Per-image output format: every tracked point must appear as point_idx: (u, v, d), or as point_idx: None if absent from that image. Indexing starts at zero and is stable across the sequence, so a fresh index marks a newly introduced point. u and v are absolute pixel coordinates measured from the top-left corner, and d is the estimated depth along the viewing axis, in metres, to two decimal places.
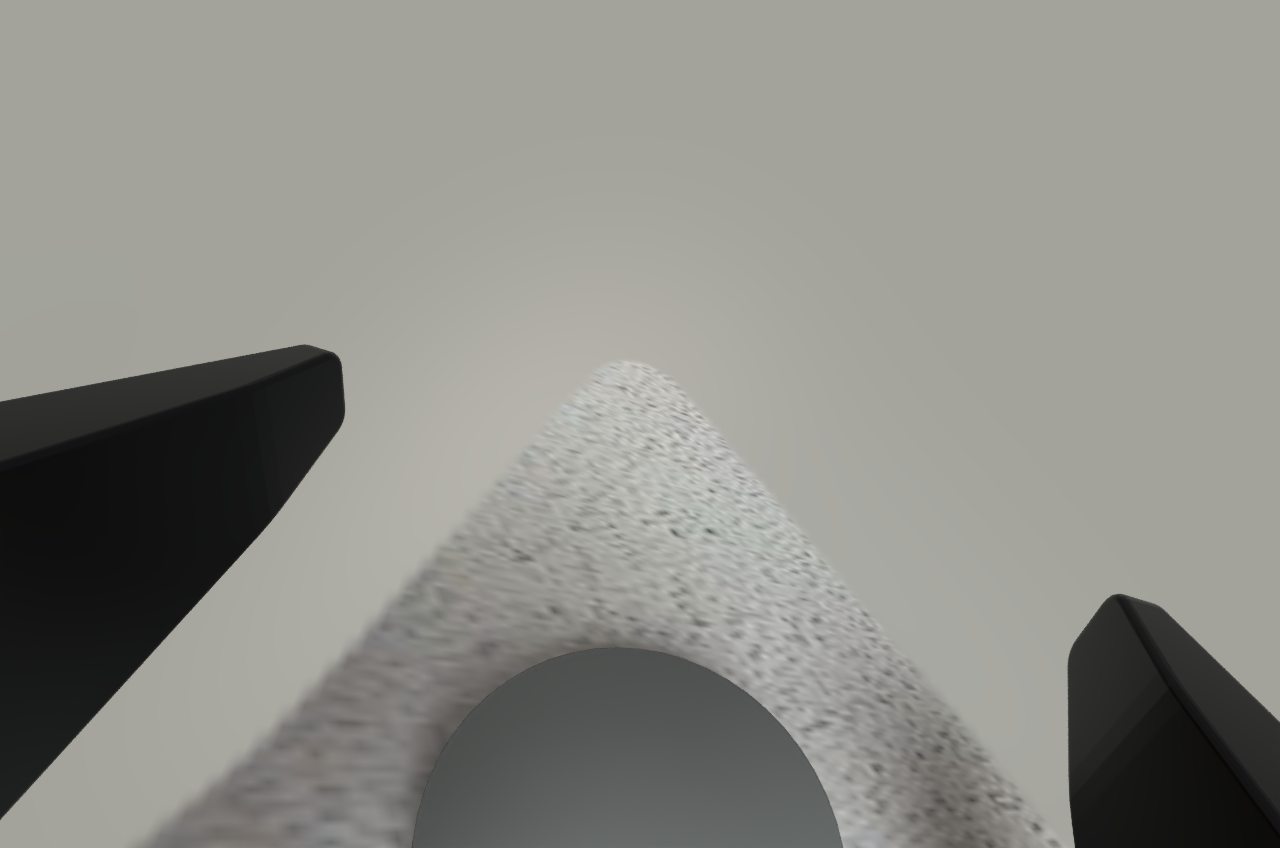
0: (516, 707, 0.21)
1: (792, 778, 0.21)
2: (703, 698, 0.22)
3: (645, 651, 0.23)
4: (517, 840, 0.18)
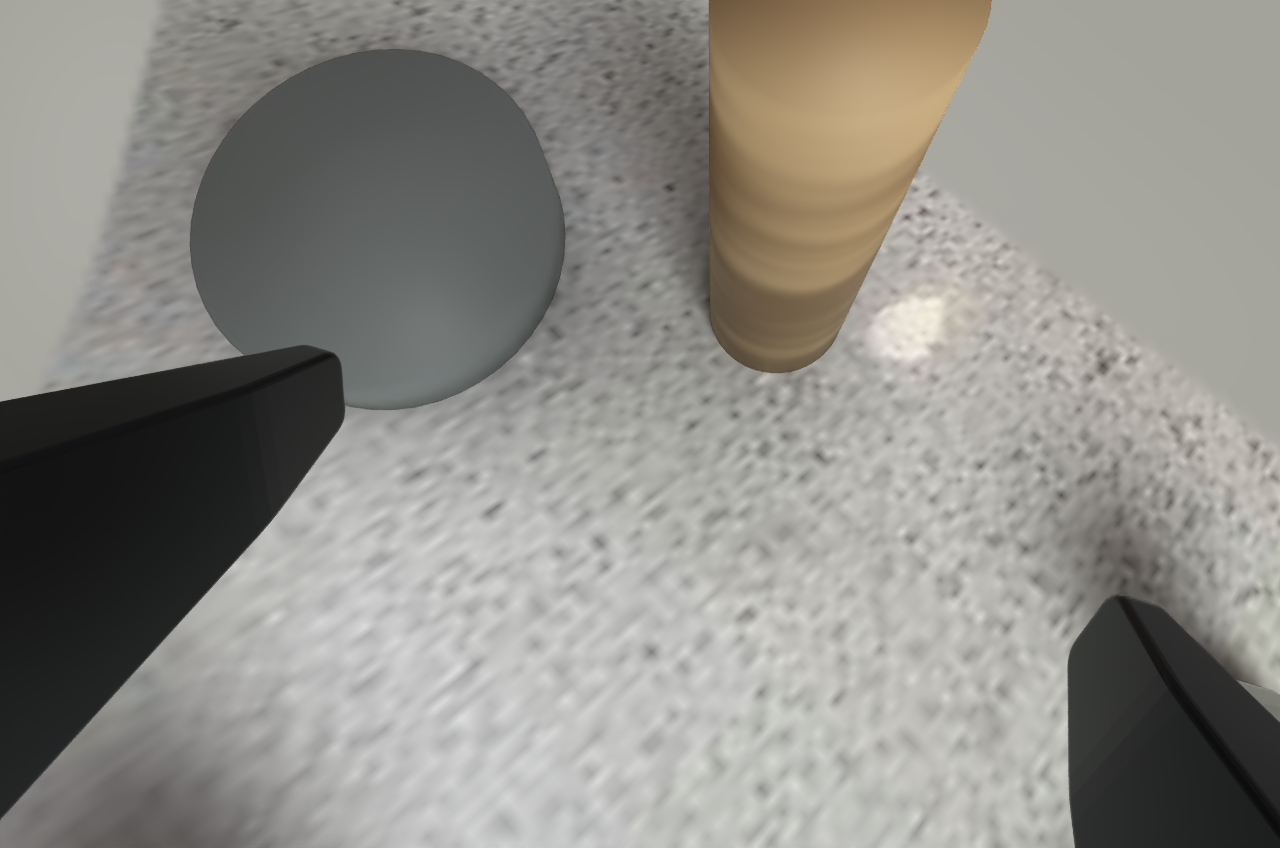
0: (238, 158, 0.23)
1: (492, 112, 0.23)
2: (400, 78, 0.23)
3: (337, 59, 0.23)
4: (274, 253, 0.22)
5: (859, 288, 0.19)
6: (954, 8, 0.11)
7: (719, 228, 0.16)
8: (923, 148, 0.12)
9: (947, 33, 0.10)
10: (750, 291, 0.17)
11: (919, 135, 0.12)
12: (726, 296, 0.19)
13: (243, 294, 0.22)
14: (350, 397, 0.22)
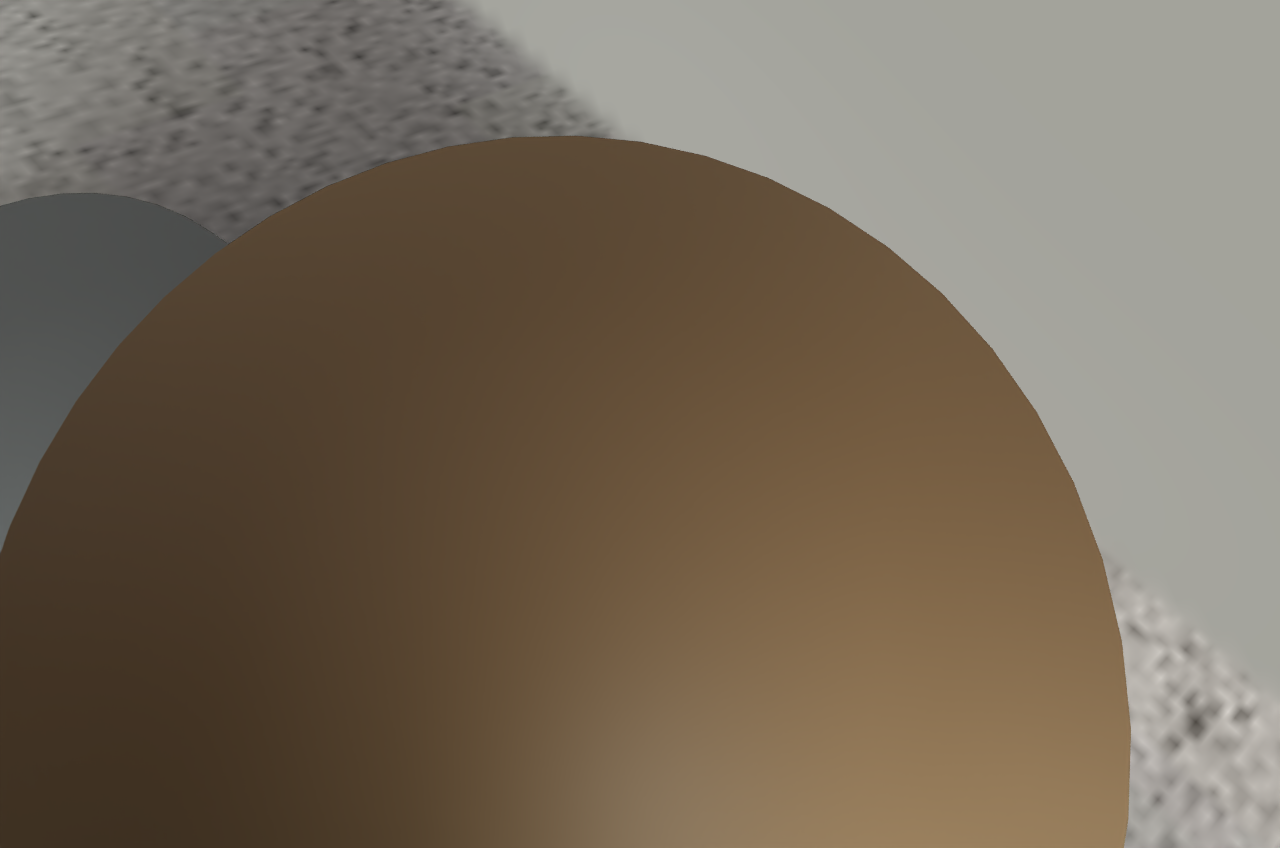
0: None
1: None
2: (94, 241, 0.15)
3: (4, 207, 0.15)
4: None
5: None
6: (959, 795, 0.02)
7: None
8: None
9: None
10: None
11: None
12: None
13: None
14: None
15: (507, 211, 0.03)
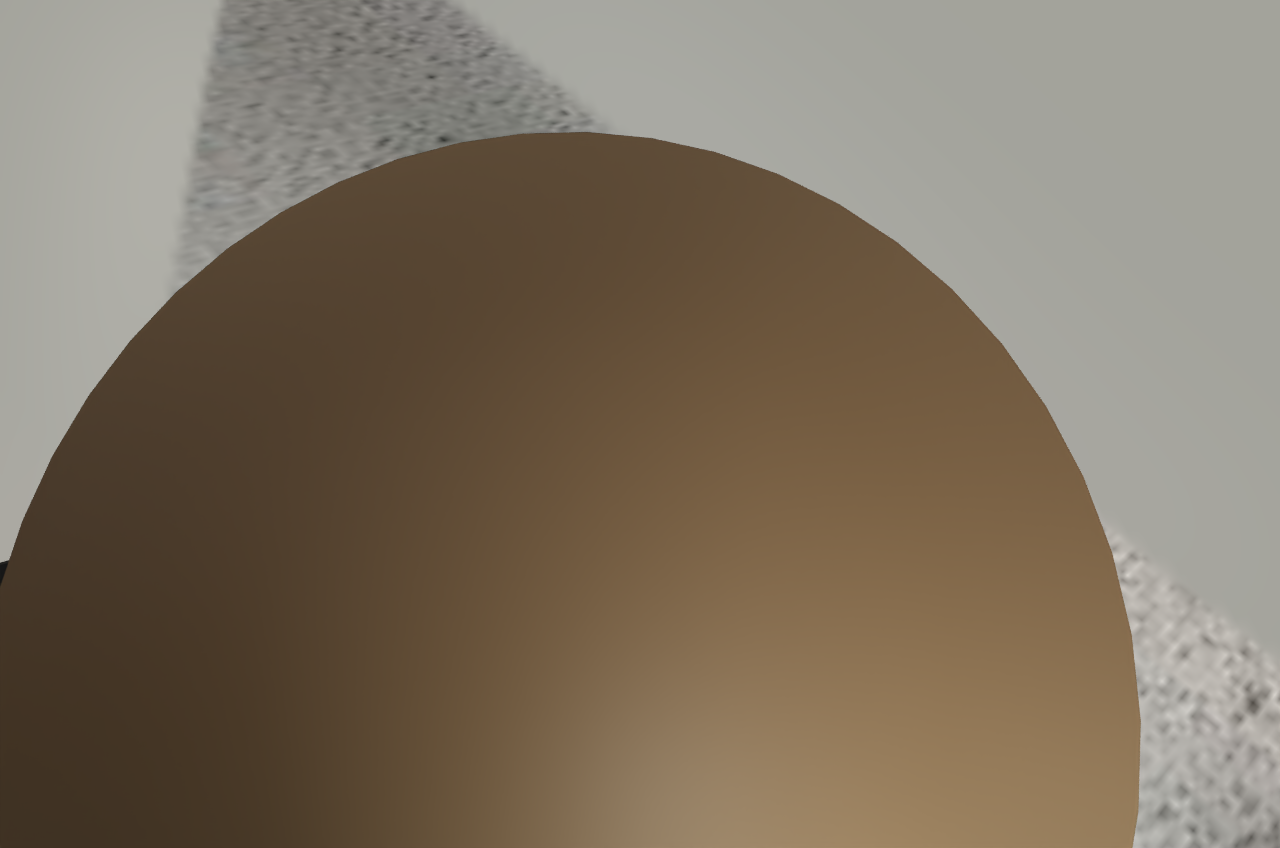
0: None
1: None
2: None
3: None
4: None
5: None
6: (970, 786, 0.02)
7: None
8: None
9: None
10: None
11: None
12: None
13: None
14: None
15: (518, 207, 0.03)
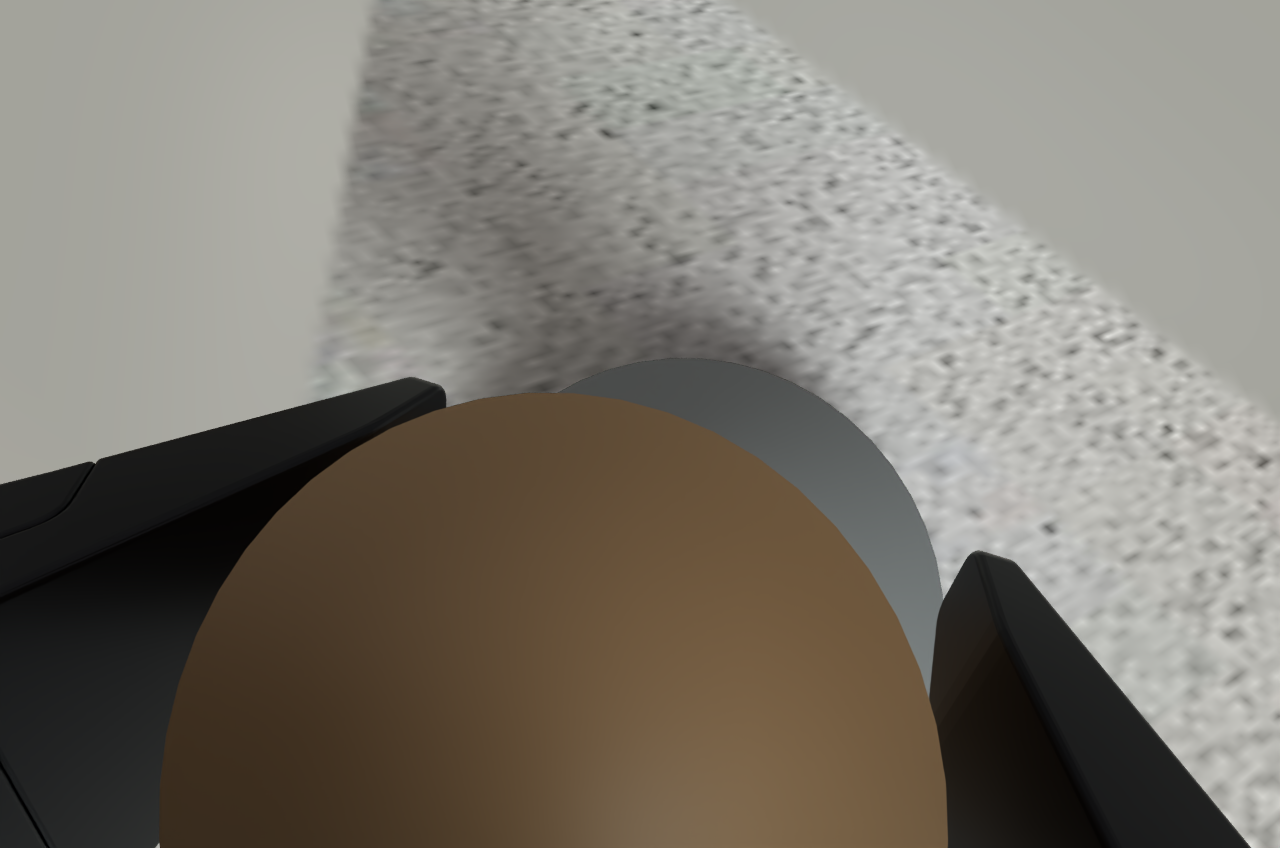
0: None
1: (845, 461, 0.16)
2: (709, 403, 0.17)
3: (617, 370, 0.17)
4: None
5: None
6: None
7: None
8: None
9: None
10: None
11: None
12: None
13: None
14: None
15: (524, 453, 0.04)
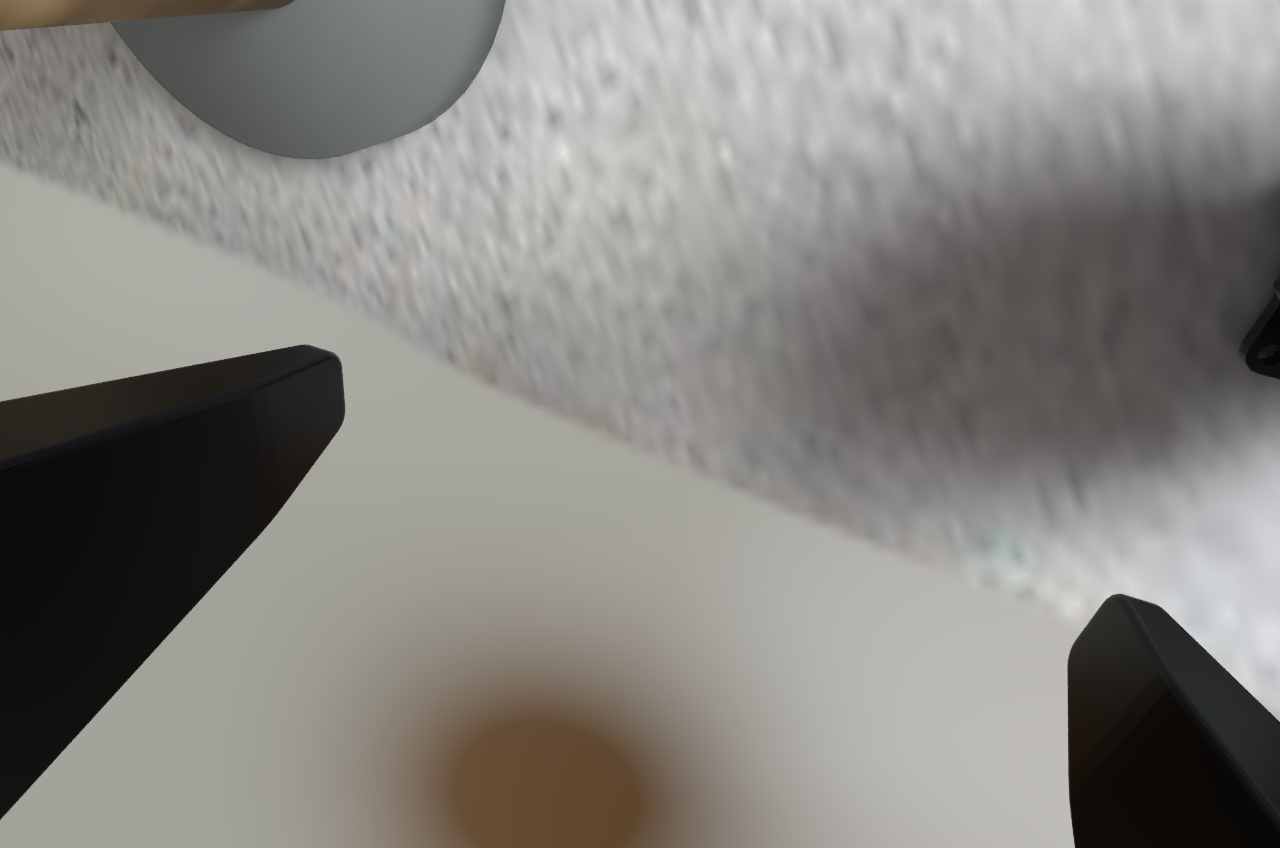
0: (197, 84, 0.20)
1: None
2: None
3: None
4: (300, 51, 0.18)
5: None
6: None
7: None
8: None
9: None
10: None
11: None
12: (153, 10, 0.14)
13: (347, 98, 0.19)
14: None
15: None
